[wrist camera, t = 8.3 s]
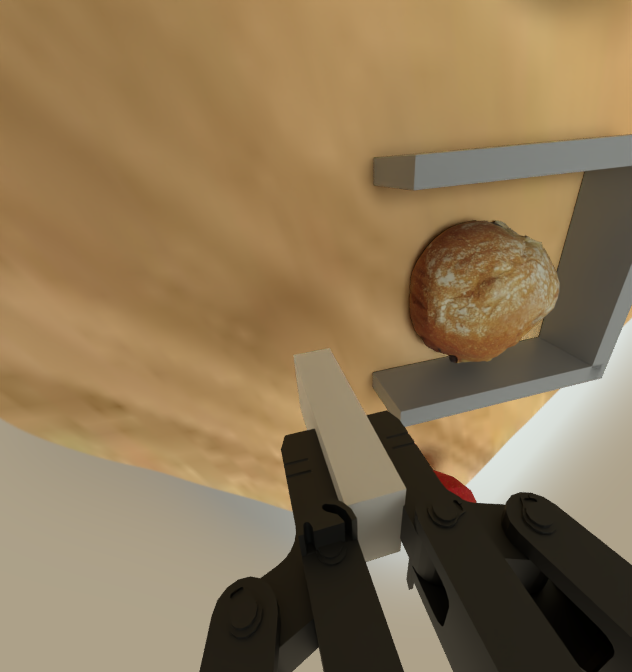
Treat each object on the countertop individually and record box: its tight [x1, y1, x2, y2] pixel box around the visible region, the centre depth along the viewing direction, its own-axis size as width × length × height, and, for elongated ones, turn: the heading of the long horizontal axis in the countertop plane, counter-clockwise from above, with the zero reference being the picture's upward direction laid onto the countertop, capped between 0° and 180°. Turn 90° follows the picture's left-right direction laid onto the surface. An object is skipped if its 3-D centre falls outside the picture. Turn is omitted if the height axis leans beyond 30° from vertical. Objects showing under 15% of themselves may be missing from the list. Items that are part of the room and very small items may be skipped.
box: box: [373, 134, 632, 427], centre depth 23 cm, size 17×18×5 cm
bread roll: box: [410, 221, 560, 363], centre depth 23 cm, size 10×10×8 cm
